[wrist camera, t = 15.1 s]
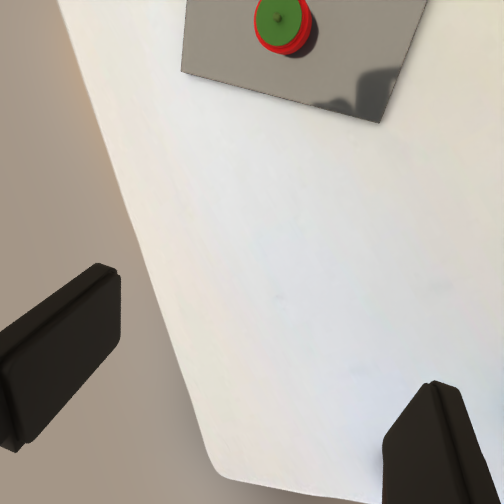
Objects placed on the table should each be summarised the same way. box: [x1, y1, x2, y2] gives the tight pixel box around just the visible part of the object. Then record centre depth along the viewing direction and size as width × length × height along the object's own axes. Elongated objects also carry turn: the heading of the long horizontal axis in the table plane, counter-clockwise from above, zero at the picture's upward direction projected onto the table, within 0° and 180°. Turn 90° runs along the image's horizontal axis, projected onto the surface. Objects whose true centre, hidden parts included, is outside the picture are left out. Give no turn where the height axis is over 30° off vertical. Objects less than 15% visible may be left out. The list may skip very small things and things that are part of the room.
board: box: [181, 0, 427, 123], centre depth 29 cm, size 20×11×1 cm, turn 78°
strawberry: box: [254, 0, 312, 55], centre depth 26 cm, size 4×4×7 cm
